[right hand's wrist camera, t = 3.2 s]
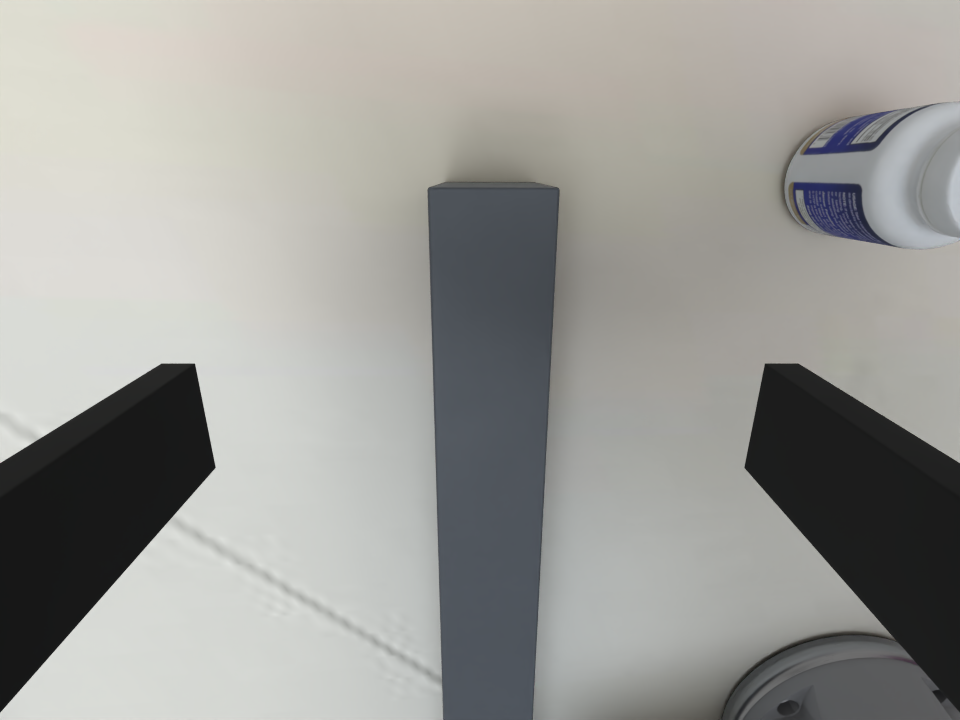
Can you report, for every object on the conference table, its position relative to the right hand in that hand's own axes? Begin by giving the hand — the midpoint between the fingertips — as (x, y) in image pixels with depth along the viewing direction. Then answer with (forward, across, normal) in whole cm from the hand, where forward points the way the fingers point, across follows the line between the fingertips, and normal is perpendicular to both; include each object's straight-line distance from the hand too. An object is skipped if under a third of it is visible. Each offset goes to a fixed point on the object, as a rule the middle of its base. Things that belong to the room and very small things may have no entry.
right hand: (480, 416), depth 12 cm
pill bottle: (+16, +17, +5) cm, 24 cm away
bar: (+16, 0, -35) cm, 38 cm away
